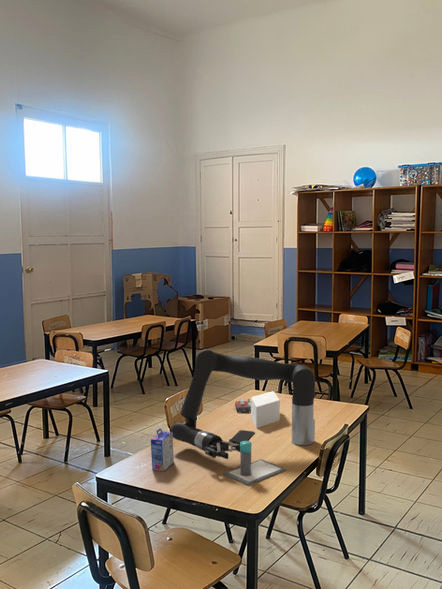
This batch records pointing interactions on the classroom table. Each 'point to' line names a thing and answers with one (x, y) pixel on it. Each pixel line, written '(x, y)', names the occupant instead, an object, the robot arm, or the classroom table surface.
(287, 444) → the classroom table surface
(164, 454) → the ink cartridge box
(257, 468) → the mat
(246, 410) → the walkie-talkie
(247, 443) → the marker
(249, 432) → the phone
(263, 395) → the white box
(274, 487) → the classroom table surface
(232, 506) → the classroom table surface
